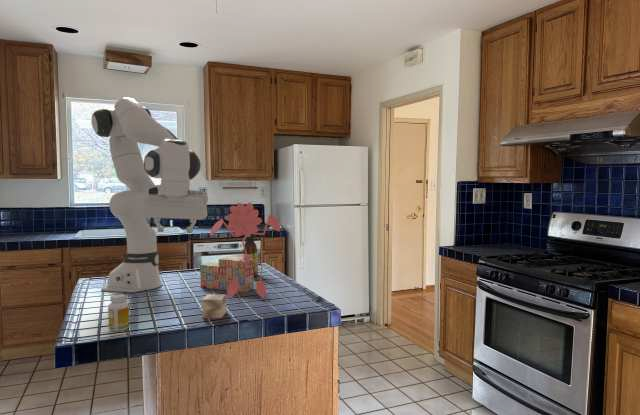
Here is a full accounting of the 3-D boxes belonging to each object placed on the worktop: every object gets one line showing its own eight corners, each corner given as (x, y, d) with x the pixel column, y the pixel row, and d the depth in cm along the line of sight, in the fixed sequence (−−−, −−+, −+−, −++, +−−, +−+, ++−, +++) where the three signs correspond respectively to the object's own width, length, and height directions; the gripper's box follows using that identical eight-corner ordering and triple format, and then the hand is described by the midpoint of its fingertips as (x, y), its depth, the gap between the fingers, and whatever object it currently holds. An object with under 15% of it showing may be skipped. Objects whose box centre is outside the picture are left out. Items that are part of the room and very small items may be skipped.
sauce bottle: (254, 273, 204) (254, 230, 202) (260, 276, 199) (260, 231, 197) (241, 275, 200) (240, 231, 199) (247, 277, 195) (246, 232, 194)
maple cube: (221, 299, 139) (221, 318, 139) (225, 294, 145) (226, 312, 145) (202, 299, 139) (202, 318, 139) (207, 294, 145) (207, 312, 145)
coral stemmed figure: (215, 294, 168) (213, 201, 165) (283, 295, 166) (282, 201, 163) (202, 306, 153) (198, 204, 150) (276, 308, 151) (275, 204, 148)
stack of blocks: (200, 287, 179) (199, 257, 178) (209, 284, 185) (209, 254, 184) (245, 292, 170) (244, 260, 169) (254, 289, 176) (253, 258, 175)
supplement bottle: (131, 325, 133) (130, 293, 133) (126, 331, 128) (125, 297, 127) (112, 326, 133) (111, 293, 132) (106, 332, 127) (105, 298, 127)
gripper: (210, 190, 147) (209, 232, 148) (148, 188, 147) (148, 229, 148) (204, 191, 141) (204, 235, 142) (140, 189, 141) (140, 232, 142)
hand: (175, 232), depth 145 cm, fingers open, 8 cm apart
